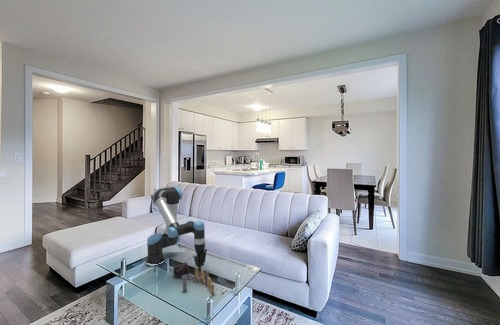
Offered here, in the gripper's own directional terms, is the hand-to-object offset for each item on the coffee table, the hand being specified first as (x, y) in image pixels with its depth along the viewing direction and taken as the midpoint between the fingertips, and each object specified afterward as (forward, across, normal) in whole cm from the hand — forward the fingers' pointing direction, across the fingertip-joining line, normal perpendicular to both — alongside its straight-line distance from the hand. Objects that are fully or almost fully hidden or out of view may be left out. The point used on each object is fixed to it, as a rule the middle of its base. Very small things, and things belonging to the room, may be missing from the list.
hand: (200, 274), depth 166 cm
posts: (+4, +10, +4) cm, 11 cm away
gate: (+4, +2, +1) cm, 4 cm away
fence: (+4, +8, +15) cm, 17 cm away
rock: (+4, +2, -17) cm, 18 cm away
